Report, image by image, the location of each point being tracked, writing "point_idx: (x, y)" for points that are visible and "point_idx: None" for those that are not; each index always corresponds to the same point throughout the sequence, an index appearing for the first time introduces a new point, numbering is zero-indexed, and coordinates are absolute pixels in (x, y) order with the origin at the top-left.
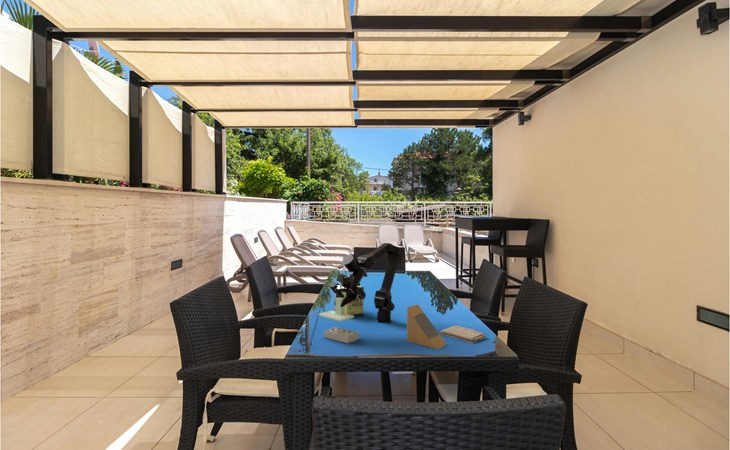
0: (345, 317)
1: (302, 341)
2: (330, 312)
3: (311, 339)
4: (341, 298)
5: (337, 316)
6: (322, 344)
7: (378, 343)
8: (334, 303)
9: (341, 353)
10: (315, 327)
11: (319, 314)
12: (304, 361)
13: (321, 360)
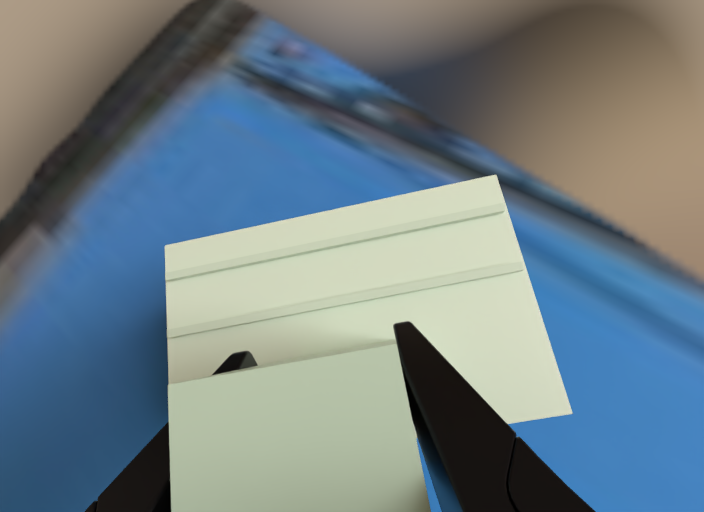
0: (174, 328)
1: (397, 113)
2: (482, 322)
3: (400, 168)
4: (240, 475)
5: (270, 284)
6: (287, 177)
7: (82, 467)
8: (409, 328)
9: (124, 189)
10: (657, 324)
11: (486, 179)
12: (166, 26)
13: (127, 81)
